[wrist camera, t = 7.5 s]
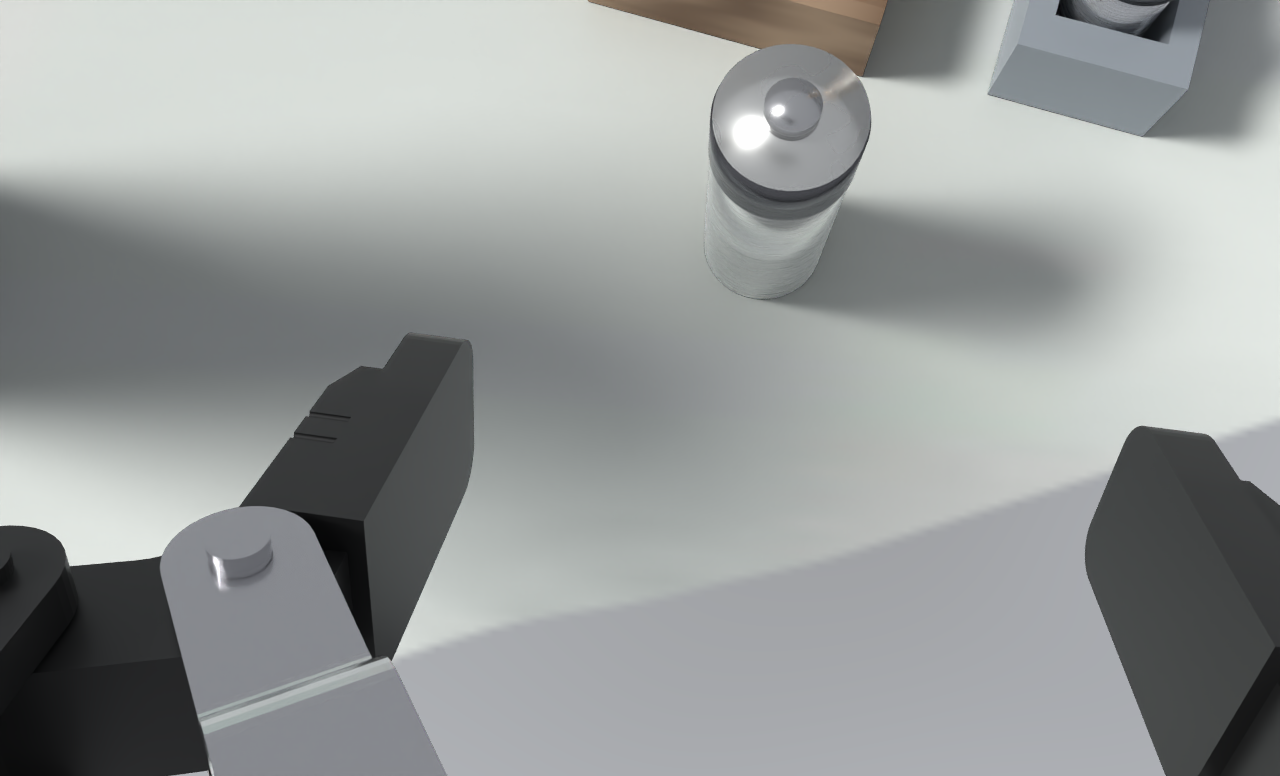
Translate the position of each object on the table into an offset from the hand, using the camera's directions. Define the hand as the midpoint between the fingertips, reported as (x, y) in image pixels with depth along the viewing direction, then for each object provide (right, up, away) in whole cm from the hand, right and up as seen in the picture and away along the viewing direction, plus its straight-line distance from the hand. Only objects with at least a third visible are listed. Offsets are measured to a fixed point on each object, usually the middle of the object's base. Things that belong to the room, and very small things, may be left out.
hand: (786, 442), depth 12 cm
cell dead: (+3, +6, +25) cm, 26 cm away
